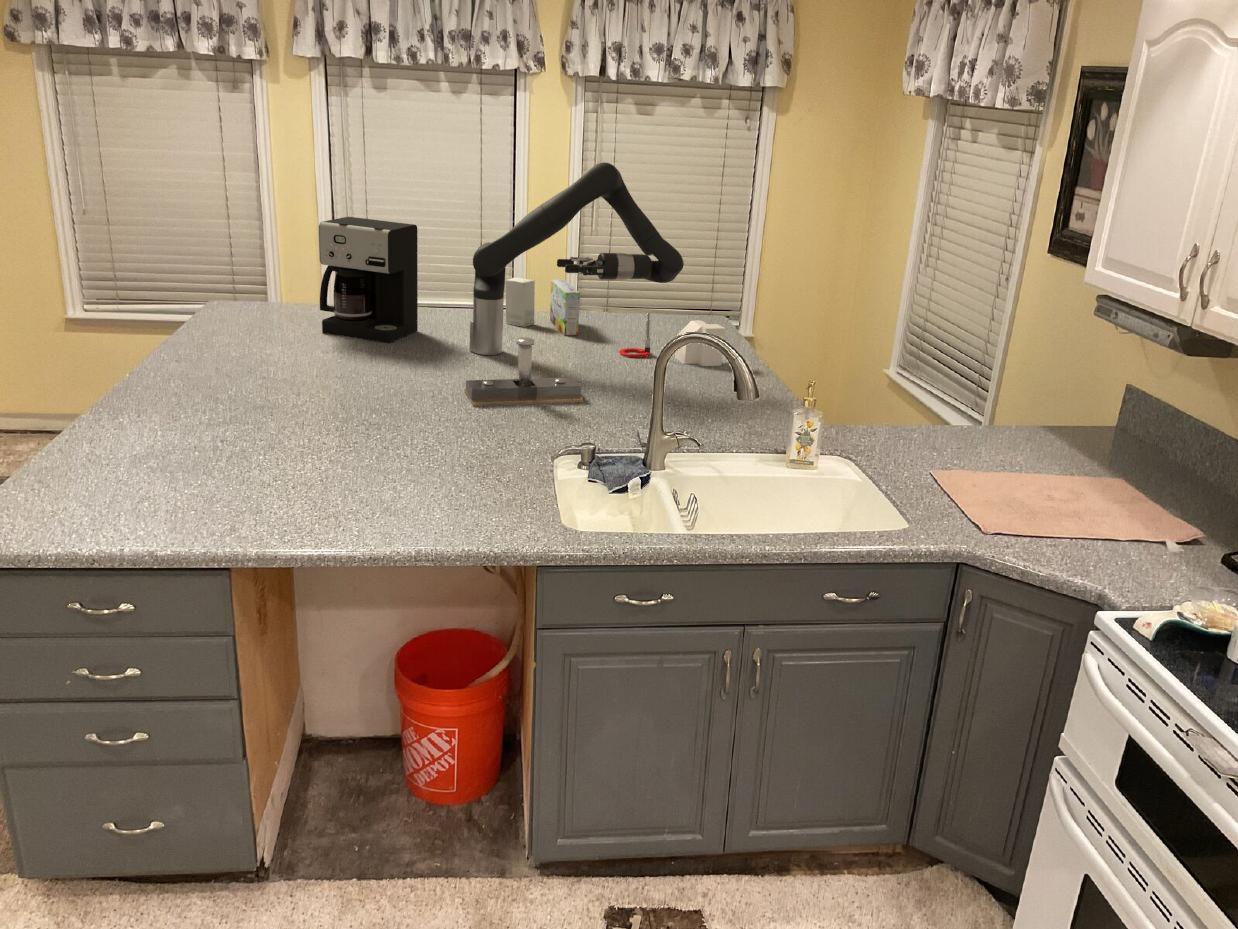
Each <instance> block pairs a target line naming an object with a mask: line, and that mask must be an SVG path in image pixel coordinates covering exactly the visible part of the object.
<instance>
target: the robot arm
mask: <svg viewBox="0 0 1238 929" xmlns="http://www.w3.org/2000/svg"><path fill="white" fill-rule="evenodd" d="M599 198H602V199H603V200H604V201H606V203H607V204H608V205H609V206H610V207H611V208H612V209H613V210H614V211H615V213H616V214H617V215H618V216H619V218H620V220H621V222H622V223H623V224H624V227H625V228H626V230H627V231H628V232H629V234H630V236H631V238H632V239H633V241H634V242H635V243H636V245H637V246H638V248H639V249H640V250H641V251H642V253H643V254H636V253H635V254H633V253H631V254H630V253H624V252H623V253H621V252H601V253H599V254H598V256H597V259H593V257H592V258H591V257H588V256H587V257H579V256H577V257H575V256H570V257H569V258H557V259H556V266H557V267H558V268H564V272H565V273H566V274H578V275H579V274H580V275H583V276H597V277H598V278H599V279H600V280H602V281H606V280H608V281H611V280H613V281H614V280H615V281H616V280H619V281H622V280H623V281H624V280H646V281H649V282H654V283H660V284H666V283H670V282H672V281H674V279H676V277H677V276H678V275H679V274H680V273H681V272H682V270H683V268H684V265H685V264H684V258H683V256H682V255H681V252H679V251H678V250H677V249H676V248H675V247H674V246H673V245H671V244H670V243H669V242H668V241H667V240H666V239H664V238H663V237H662V235H661V234H660V232H659V231H658V230H657V228H656V227H655V225H654V224H653V223H652V222H651V220H650V219H649V218H648V217H647V215H646V214H645V212H644V211H642V209H641V208H640V207H639V205H638V204H637V203H636V202H635V200H634V198H633V197H632V195H631V193H630V192H629V190H628V188H627V186H626V183H625V181H624V180H623V177H622V174H621V172H620V170H618V169H617V167H616V166H615V165H613V164H612V163H609V162H604V161H603V162H599V163H597V164H595V165H594V166H592V167H591V168H590V169H588V171H586V172H585V173H583V175H582V176H580V177H579V178H578V179H577V180H575V182H573V183H572V184H571V185H569V186H568V187H566V188H564V189H563V190H562V191H560V192H558V193H557V194H555V195H553V196H552V197H550V198H549V199H548V200H546V201H544V202H543V203H541V204H539V205H538V206H537V207H536V208H534V209H532V210H531V211H530V212H529V213H528V214H526V215H525V216H524V217H522V219H520V220H519V221H518V222H517V223H516V224H515V225H514V226H513V227H512V228H511V229H510V230H509V231H508V232H506V233H505V234H504V235H502V236H500V237H499V238H497V239H495V240H493V241H491V242H485V243H483V244H481V245H479V247H478V248H477V249H476V250H475V251H474V254H473V257H472V267H473V269H474V270H475V271H474V272H475V273H474V283H473V289H472V290H473V293H472V299H473V300H472V320H470V322H469V352H472V353H475V354H476V355H477V354H478V355H482V356H495V355H496V356H497V355H500V354H502V353H503V334H504V333H503V332H504V301H505V300H504V299H505V298H504V297H505V296H504V294H505V289H506V270H507V269H506V266H508V265H509V264H510V263H511V262H512V261H514V260H515V259H516V258H517V257H519V256H520V255H522V254H523V253H525V252H527V251H529V250H530V249H532V248H533V249H534V248H535V247H536V246H538V245H540V244H542V243H543V242H545V241H546V240H548V239H549V238H551V237H552V236H554V235H556V234H557V233H559V231H561V230H563V229H564V228H565V227H566V226H567V225H568V224H570V222H571V221H572V220H573V219H575V216H576V215H577V214H578V213H579V212H580V211H581V210H582V209H584V207H586V206H588V204H591V203H592V202H593V201H595V200H597V199H599ZM650 256H653V257H655V259H657V260H652V258H651V257H650ZM575 262H576V263H575Z"/></svg>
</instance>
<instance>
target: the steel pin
mask: <svg viewBox="0 0 1238 929" xmlns="http://www.w3.org/2000/svg"><path fill="white" fill-rule="evenodd" d="M515 342H516V345H518V349H517V350H518V352H517V353H518V354H517V379H518V386H531V379H532V363H533V345H535V339H534V338H531V337H517V338H516V340H515Z"/></svg>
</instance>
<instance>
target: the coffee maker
mask: <svg viewBox="0 0 1238 929" xmlns="http://www.w3.org/2000/svg"><path fill="white" fill-rule="evenodd" d="M318 245H319V246H318V247H319V263H320V264H321V265H323V266H326V269H325V271H324V273H323V275H322V278H321V283H320V289H319V291H320V292H319V311H322V312H329V313H333V314H334V315H332V316H329V317H327V318H324V319H322V321H321V332H322V334H326V335H332V336H333V335H334V336H339V337H346V338H352V339H358V340H366V341H371V342H378V343H385V344H391V343H394V342H396V341H399V340H401V339H403V338H405V337H407V336H410V335H413V334H415V333H416V332H418V329H419V328H418V327H419V326H418V325H419V324H418V320H419V319H418V313H419V312H418V300H419V299H418V225H416V224H413V223H412V224H411V223H405V222H396V221H388V220H381V219H380V220H379V219H373V218H372V219H371V218H363V217H354V216H344V217H339V218H334V219H330V220H325V221H321V222H320V223H319V225H318ZM333 272H334V273H335V272H336V274H335V277H334V282H333V305H328V294H329V293H328V291H329V285H330V280H331V275H332V273H333Z"/></svg>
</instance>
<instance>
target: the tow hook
mask: <svg viewBox="0 0 1238 929" xmlns="http://www.w3.org/2000/svg"><path fill="white" fill-rule="evenodd" d="M645 321H646V324H645V328H646V329H645V330H646V331H645V339H644V341H645V346H644V348H643V349H642V348H636V347H627V348H621V349H620V350H618V354H619V353H620V354H621V355H620V354H619V355H620V356H622V355H623V356H622V357H625V356H629V357H628V358H646V357H647V358H646V359H649V358H650V356H651V313H650V312H647V316H646V320H645ZM628 351H633V353H629V352H628Z"/></svg>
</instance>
